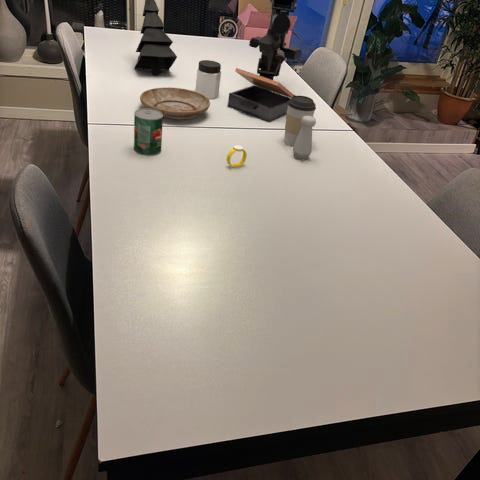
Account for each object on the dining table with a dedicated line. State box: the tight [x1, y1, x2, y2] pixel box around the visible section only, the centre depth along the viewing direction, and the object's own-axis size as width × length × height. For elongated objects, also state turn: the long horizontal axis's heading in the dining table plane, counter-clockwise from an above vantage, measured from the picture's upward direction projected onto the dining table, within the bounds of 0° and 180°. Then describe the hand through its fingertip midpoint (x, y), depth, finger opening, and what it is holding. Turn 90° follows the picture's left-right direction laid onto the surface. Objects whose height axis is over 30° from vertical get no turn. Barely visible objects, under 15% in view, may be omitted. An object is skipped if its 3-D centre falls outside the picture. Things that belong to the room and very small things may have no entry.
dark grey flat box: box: [227, 84, 291, 123], centre depth 184 cm, size 18×18×5 cm
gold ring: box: [226, 144, 248, 168], centre depth 143 cm, size 6×3×6 cm, turn 123°
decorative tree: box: [133, 0, 178, 76], centre depth 201 cm, size 15×15×35 cm
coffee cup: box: [283, 94, 317, 148], centre depth 160 cm, size 9×9×15 cm
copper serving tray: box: [234, 67, 295, 98], centre depth 181 cm, size 16×18×1 cm
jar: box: [194, 59, 222, 100], centre depth 187 cm, size 9×8×12 cm
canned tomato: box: [133, 107, 164, 157], centre depth 143 cm, size 8×8×11 cm
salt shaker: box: [292, 116, 317, 161], centre depth 152 cm, size 6×6×13 cm
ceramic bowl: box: [139, 86, 211, 120], centre depth 171 cm, size 23×24×5 cm
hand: (271, 72), depth 181 cm, fingers open, 3 cm apart
